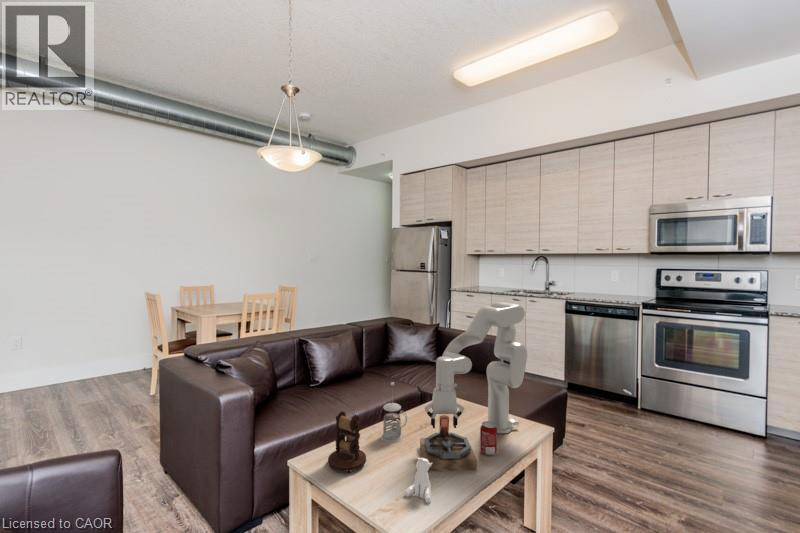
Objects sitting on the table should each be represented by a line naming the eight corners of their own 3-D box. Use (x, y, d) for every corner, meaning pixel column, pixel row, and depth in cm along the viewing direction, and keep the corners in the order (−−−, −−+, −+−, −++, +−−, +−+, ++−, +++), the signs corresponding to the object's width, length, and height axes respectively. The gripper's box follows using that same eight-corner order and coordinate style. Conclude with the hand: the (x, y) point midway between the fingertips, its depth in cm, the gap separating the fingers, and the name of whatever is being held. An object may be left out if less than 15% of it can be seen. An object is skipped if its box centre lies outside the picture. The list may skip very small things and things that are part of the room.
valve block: (466, 446, 163) (466, 436, 163) (477, 470, 145) (477, 459, 145) (420, 447, 162) (420, 437, 162) (425, 471, 144) (425, 460, 144)
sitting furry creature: (403, 496, 129) (403, 462, 129) (412, 482, 137) (413, 450, 136) (429, 504, 125) (430, 468, 125) (437, 489, 133) (438, 456, 133)
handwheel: (474, 459, 145) (474, 435, 145) (428, 459, 144) (428, 436, 144) (463, 435, 164) (463, 415, 164) (422, 436, 163) (423, 415, 163)
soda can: (496, 457, 154) (497, 428, 154) (479, 455, 156) (480, 426, 155) (496, 449, 161) (496, 421, 161) (479, 447, 162) (480, 419, 162)
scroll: (373, 460, 151) (373, 411, 151) (350, 479, 138) (350, 425, 138) (344, 450, 159) (344, 403, 158) (320, 467, 146) (320, 416, 145)
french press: (383, 431, 176) (384, 377, 176) (408, 433, 174) (409, 379, 173) (378, 441, 167) (379, 385, 166) (404, 444, 165) (405, 387, 164)
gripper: (463, 383, 165) (462, 422, 165) (423, 383, 164) (422, 423, 165) (467, 389, 157) (466, 430, 158) (425, 389, 157) (424, 431, 157)
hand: (444, 426), depth 161 cm, fingers open, 8 cm apart
